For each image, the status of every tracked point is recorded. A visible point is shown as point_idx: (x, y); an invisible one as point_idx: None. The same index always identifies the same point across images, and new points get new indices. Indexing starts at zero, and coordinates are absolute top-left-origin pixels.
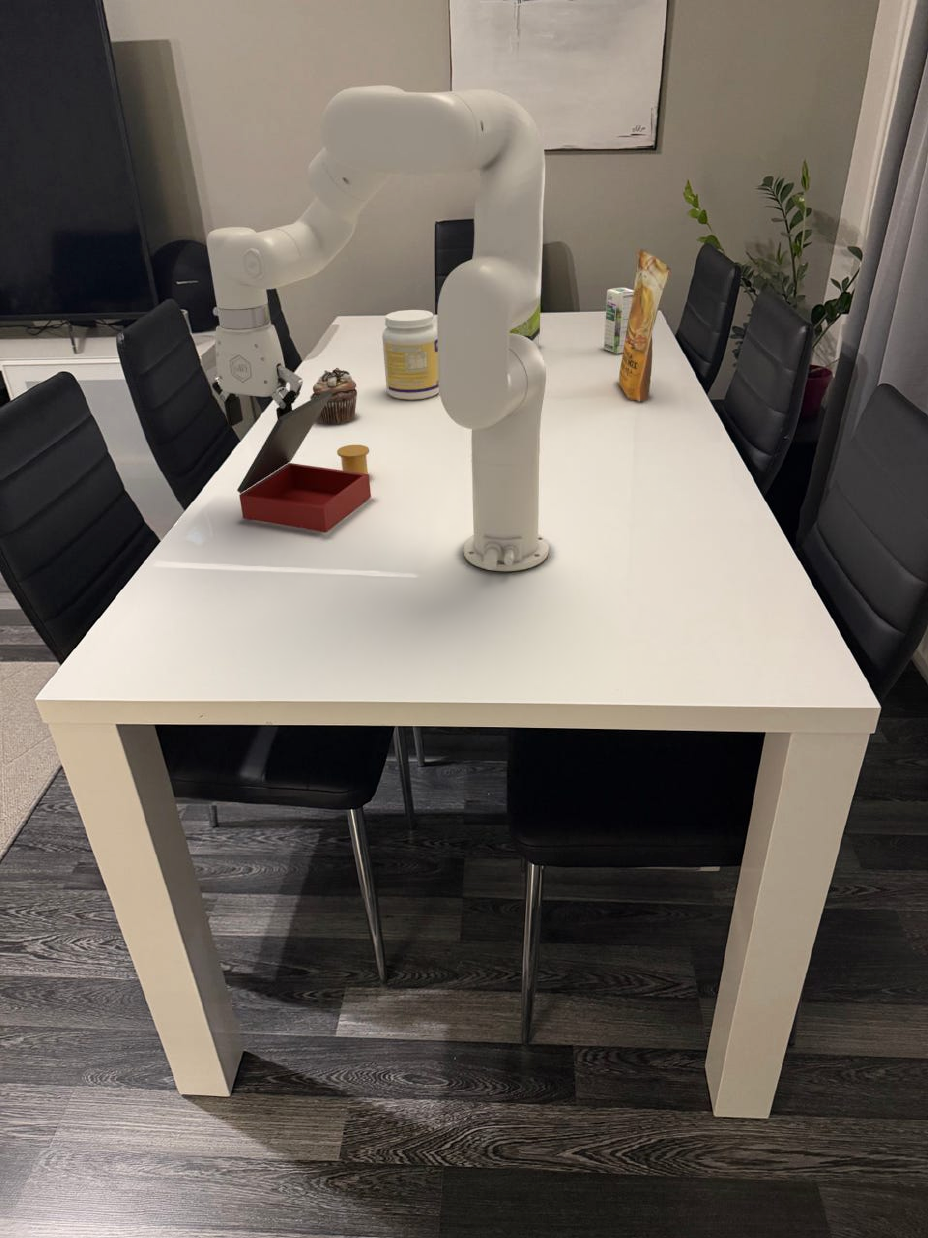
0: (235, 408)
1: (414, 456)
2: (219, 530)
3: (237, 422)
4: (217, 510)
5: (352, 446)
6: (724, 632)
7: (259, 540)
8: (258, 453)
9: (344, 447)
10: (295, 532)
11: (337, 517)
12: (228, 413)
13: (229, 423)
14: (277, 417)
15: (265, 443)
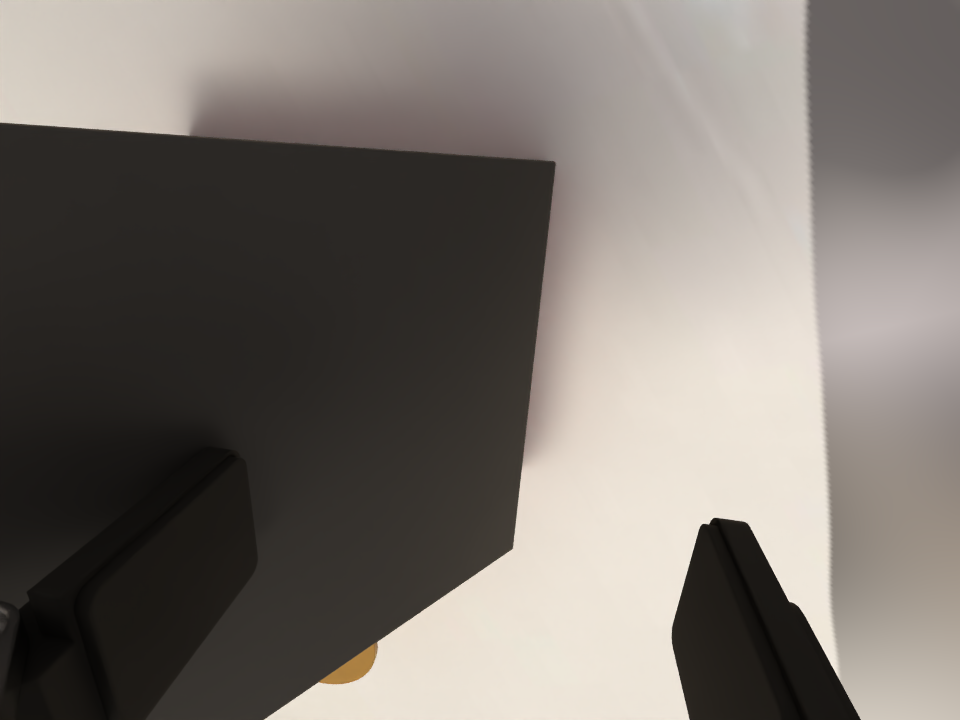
0: (723, 702)
1: (294, 702)
2: (614, 52)
3: (687, 581)
4: (717, 239)
5: (339, 669)
6: None
7: (398, 17)
8: (265, 142)
9: (361, 660)
10: (310, 137)
11: None
12: (762, 606)
13: (734, 529)
14: (158, 531)
15: (108, 130)
